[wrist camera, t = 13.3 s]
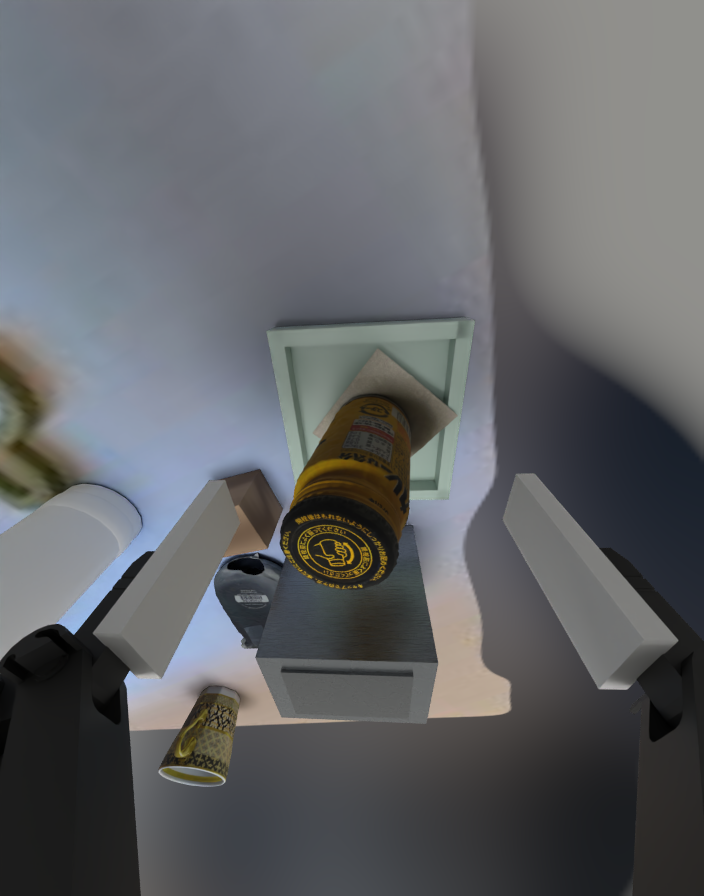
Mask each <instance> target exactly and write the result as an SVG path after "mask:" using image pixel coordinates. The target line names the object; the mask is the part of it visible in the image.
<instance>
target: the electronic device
mask: <svg viewBox="0 0 704 896" xmlns="http://www.w3.org/2000/svg"><path fill="white" fill-rule="evenodd" d="M244 558H253V559H259V560H260V561H261V562H262V563H263V565H264V569H265V570H261V569H258V568H254V569H248V570H247V571H244V572H242V570H228V569H229V567H230V565H231V564H232V563H234V562H235V561H237V560H240V559H244ZM281 571H282V567H280V566H279V565H277V564H275V563H273V562H271V561H268V560H265V559H261V558H259V556H258V553H257V554H255V555H254V556H246V557H242V558H238V559H235V560H232V561H230V562H228V563H227V564H225V565H224V566H223V567H222V568H221V569H220V570H219V571H218V572H217V574H216V576H215V579H214V587H215V592H216V596H217V597H218V599H219V601H220V603H221V605H222V606H223V609H224V610H225V612H226V613H227V615H228V616H229V618H230V619H231V621H232V623H233V624H234V626H235V627H236V629H237V630H238V632H239V633H241V634H242V636H243V637H244V638H243V639H242V640H241V643H242V645H241V646H242V647H243V648H245V649H248V648H258V647H259V644H260V641H261V637H262V634H263V631H264V628H265V624H266V621H267V618H268V614H269V611H270V608H271V604H272V601H273V598H274V594H275V591H276V588H277V585H278V581H279V578H280V575H281ZM252 573H260V574H258V575H250V574H252Z"/></svg>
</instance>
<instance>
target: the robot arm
mask: <svg viewBox="0 0 704 896" xmlns="http://www.w3.org/2000/svg"><path fill="white" fill-rule="evenodd" d="M502 520H503V522H504V523H505V525H506V527H507V529H508V530H509V532H510V534H511V535H512V537H513V539H514V540H515V543H516V544H517V546H518V548H519V550H520V551H521V553H522V555H523V557H524V559H525V560H526V562H527V564H528V566H529V567H530V569H531V571H532V573H533V574H534V576H535V578H536V580H537V581H538V583H539V585H540V586H541V588H542V590H543V592H544V594H545V595H546V597H547V599H548V601H549V602H550V604H551V606H552V608H553V609H554V611H555V613H556V615H557V617H558V618H559V620H560V622H561V624H562V625H563V627H564V629H565V631H566V632H567V634H568V636H569V638H570V639H571V641H572V643H573V645H574V646H575V648H576V650H577V651H578V653H579V655H580V657H581V659H582V660H583V662H584V664H585V666H586V667H587V669H588V670H589V673H590V674H591V676H592V678H593V680H594V681H595V683H596V685H597V687H598V688H599V689H626V690H627V689H628V688H629V687H630V686H631V685H632V684H633V683H634V682H635V681H636V680H637V681H638V682H639V684H640V685H641V687H642V688H643V690H644V691H645V694H644V695H642V696H641V697H640V698H639V699H638V700H637V701H635V702H634V703H633V704H632V706H631V708H630V712H631V713H633V714H636V713H637V712H638V711H639V710H641V727H640V728H641V729H640V749H639V770H638V790H637V812H636V832H635V833H636V835H635V854H634V876H633V896H704V641H703V640H702V639H701V638H700V637H699V636H698V635H697V634H696V633H695V632H694V630H693V629H692V628H691V627H690V626H689V625H688V624H687V623H686V622H685V621H684V620H683V619H682V618H681V616H680V615H679V614H678V613H677V612H676V611H675V610H674V609H673V608H672V607H671V606H670V605H669V604H668V602H666V600H665V599H664V598H663V597H662V596H661V595H660V594H659V593H658V592H656V591H655V590H654V587H652V585H651V584H650V583H649V582H648V581H647V580H646V579H643V576H642V575H641V573H639V572H638V570H637V569H636V568H635V567H634V566H633V565H632V564H631V563H630V562H629V561H628V560H627V559H625V558H624V557H623V556H621V555H620V554H618V553H617V552H615V551H614V550H613V549H611V548H598V547H597V546H596V545H595V543H594V542H593V541H592V540H591V539H590V538H589V536H588V535H587V534H586V533H585V532H584V530H583V529H582V528H581V527H580V526H579V525H578V524H577V523H576V521H575V520H574V519H573V518H572V517H571V516H570V514H569V513H568V512H567V511H566V510H565V509H564V507H563V506H562V505H561V504H560V503H559V502H558V501H557V499H556V498H555V497H554V496H553V495H552V493H551V492H550V491H549V490H548V489H547V488H546V487H545V485H544V484H543V483H542V482H541V481H540V480H539V478H538V477H537V476H536V475H535V474H516V476H515V480H514V483H513V486H512V490H511V493H510V496H509V499H508V503H507V506H506V509H505V513H504V516H503V519H502ZM239 524H240V521H239V518H238V515H237V512H236V509H235V507H234V504H233V501H232V498H231V495H230V492H229V490H228V487H227V484H226V481H225V480H209V481H208V483H207V484H206V485H205V487H204V488H203V489H202V490H201V492H200V493H199V494H198V496H197V497H196V498H195V500H194V501H193V502H192V504H191V505H190V506H189V508H188V509H187V510H186V511H185V513H184V514H183V515H182V517H181V518H180V519H179V521H178V522H177V523H176V525H175V526H174V527H173V528H172V530H171V531H170V532H169V534H168V535H167V536H166V538H165V539H164V540H163V542H162V543H161V544H160V546H159V547H158V548H157V549H156V551H147V552H146V553H144V554H143V555H142V556H141V557H139V558H138V559H137V560H136V561H134V562H133V563H132V564H131V566H130V567H129V568H128V569H127V570H126V572H125V573H124V574H123V575H122V578H121V579H119V580H118V582H117V583H116V584H115V585H114V586H113V589H112V591H109V593H108V594H107V595H106V596H105V598H104V599H103V600H102V601H101V603H100V604H99V605H98V606H97V607H96V609H95V610H94V611H93V612H92V614H91V615H90V616H89V617H88V619H87V620H86V621H85V622H84V623H83V625H82V626H81V627H80V628H79V630H78V631H77V632H76V633H75V634H74V635H73V634H72V633H71V632H70V631H69V630H68V629H66V628H65V627H64V626H62V625H60V624H52V625H47V626H44V627H42V628H39V629H37V630H35V631H33V632H32V633H30V634H28V635H27V636H25V637H24V638H22V639H21V640H20V641H19V642H18V643H16V644H15V645H14V646H13V647H12V648H10V650H9V651H8V652H7V653H6V654H5V655H4V657H3V658H2V659H1V661H0V896H141V894H140V879H139V864H138V849H137V835H136V821H135V806H134V791H133V776H132V762H131V747H130V733H129V718H128V704H127V689H126V685H125V683H124V679H125V677H126V676H127V674H128V672H129V671H131V672H132V673H133V674H134V675H135V676H136V677H137V678H138V679H162V677H163V675H164V673H165V671H166V669H167V667H168V665H169V663H170V661H171V659H172V657H173V655H174V653H175V651H176V649H177V647H178V645H179V643H180V641H181V639H182V637H183V635H184V633H185V631H186V629H187V627H188V625H189V623H190V621H191V619H192V617H193V615H194V613H195V612H196V610H197V608H198V606H199V604H200V602H201V600H202V598H203V596H204V594H205V592H206V590H207V588H208V586H209V584H210V582H211V580H212V578H213V576H214V574H215V572H216V570H217V568H218V566H219V564H220V562H221V560H222V558H223V556H224V554H225V552H226V550H227V548H228V546H229V544H230V542H231V540H232V538H233V536H234V534H235V532H236V530H237V528H238V526H239Z"/></svg>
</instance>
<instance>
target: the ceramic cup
mask: <svg viewBox="0 0 704 896" xmlns="http://www.w3.org/2000/svg"><path fill="white" fill-rule="evenodd" d="M239 702H240V697H239V696H238V694H237V693H236V691H233V690H230V689H228V688H225V687H222V686H209V687H208V688H206V689H205V690H203V692H202V693H201V694H200V696H199V698H198V700H197V701H196V703H195V705H194V707H193V709H192V711H191V712H190V714H189V716H188V718H187V719H186V721H185V723H184V725H183V727H182V729H181V731H180V732H179V734H178V735H177V737H176V738H175V740H174V742H173V743H172V745H171V747H170V749H169V751H168V752H167V754H166V756H165V758H164V760H163V761H162V763H161V766H160V767H159V769H158V772H159V774H160V775H161V776H163V777H165V778H167V779H169V780H172V781H175V782H179V783H182V784H188V785H194V786H219V785H222V784H223V783H225V781H226V777H227V773H228V767H229V763H230V757H231V751H232V743H233V737H234V732H235V726H236V720H237V714H238V709H239Z"/></svg>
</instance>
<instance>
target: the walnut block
mask: <svg viewBox="0 0 704 896" xmlns="http://www.w3.org/2000/svg"><path fill="white" fill-rule="evenodd" d="M220 480H225V481H226V484H227V487H228V490H229V492H230V495H231V498H232V501H233V504H234V507H235V509H236V512H237V515H238V518H239V521H240V524H239V526H238V528H237V530H236V532H235V534H234V536H233V538H232V540H231V542H230V544H229V546H228V548H227V550H226V552H225V554H224V556H223V557H228V556H233V555H238V554H243V553H248V552H253V551H258V550H263V549H268V547H269V544H270V541H271V539H272V536H273V533H274V531H275V528H276V526H277V523H278V520H279V518H280V515H281V513H282V510H283V509H282V507H281V505H280V503H279V502H278V500H277V498H276V496H275V495H274V493H273V491H272V489H271V488H270V486H269V484H268V482H267V481H266V479H265V477H264V476H263V474H262V472H261V470H260V469H259V470H255V471H251V472H247V473H244V474H240V475H236V476H232V477H228V478H224V479H220Z"/></svg>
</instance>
